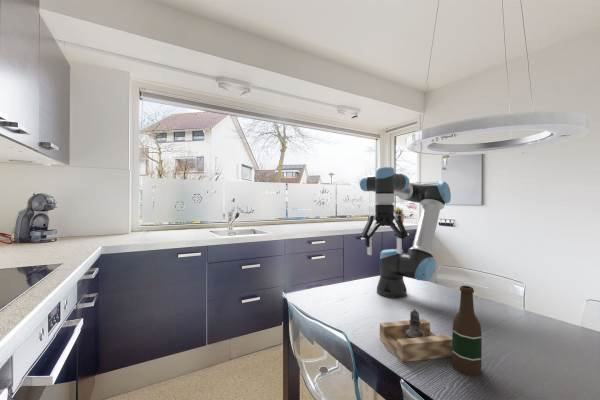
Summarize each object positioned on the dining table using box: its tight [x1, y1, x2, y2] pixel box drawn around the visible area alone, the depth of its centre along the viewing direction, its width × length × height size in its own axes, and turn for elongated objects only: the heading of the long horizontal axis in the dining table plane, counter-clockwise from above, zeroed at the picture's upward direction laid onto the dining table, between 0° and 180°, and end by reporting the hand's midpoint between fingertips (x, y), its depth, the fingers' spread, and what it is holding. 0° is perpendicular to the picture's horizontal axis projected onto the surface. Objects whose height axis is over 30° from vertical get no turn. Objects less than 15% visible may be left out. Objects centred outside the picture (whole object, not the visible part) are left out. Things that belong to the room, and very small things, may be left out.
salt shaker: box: [405, 308, 424, 338], centre depth 90 cm, size 6×6×12 cm
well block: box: [379, 318, 452, 363], centre depth 90 cm, size 18×14×6 cm
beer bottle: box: [451, 285, 483, 377], centre depth 78 cm, size 8×8×24 cm
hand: (384, 254), depth 112 cm, fingers open, 13 cm apart
